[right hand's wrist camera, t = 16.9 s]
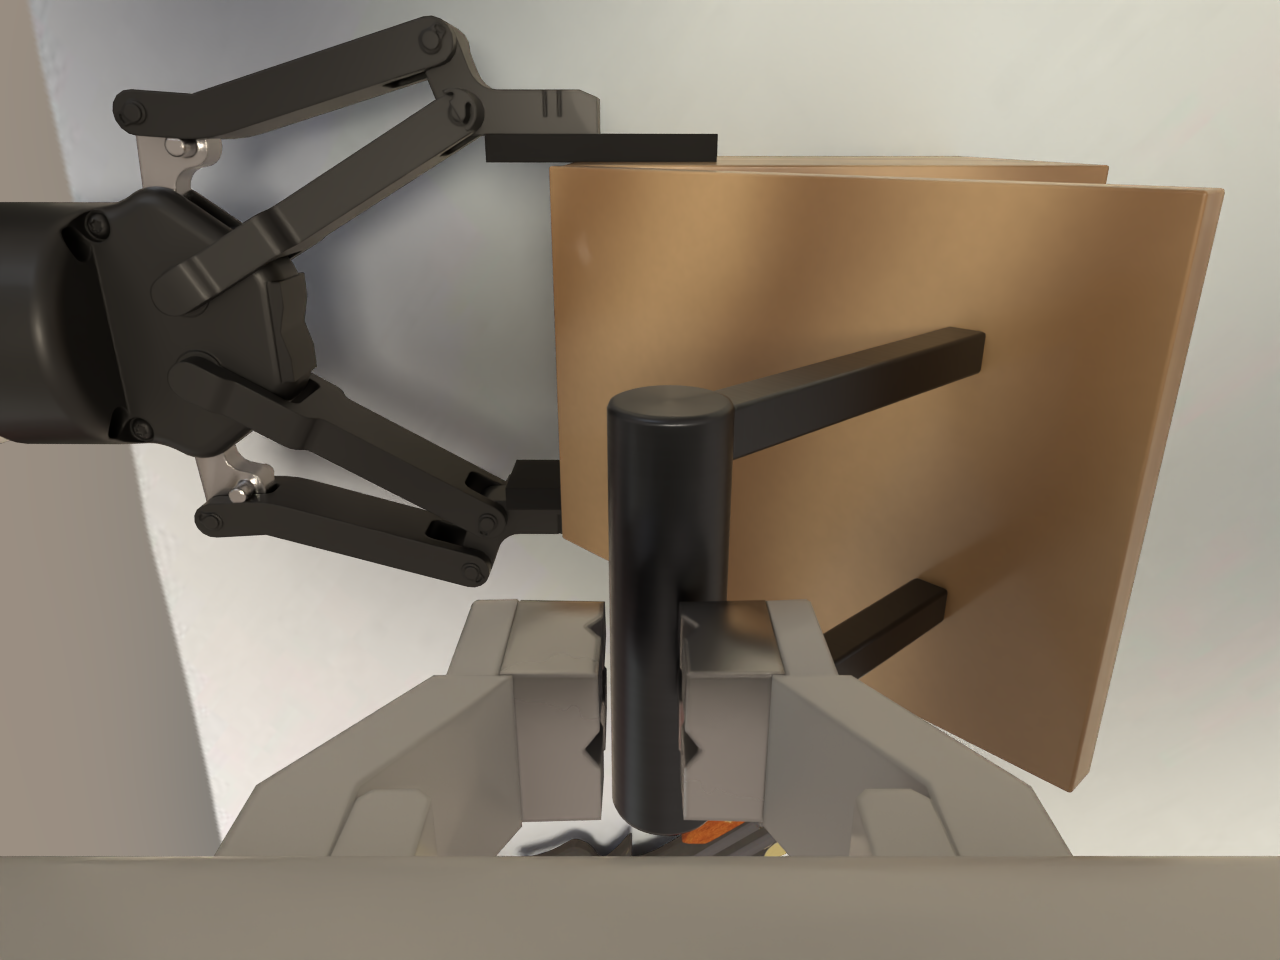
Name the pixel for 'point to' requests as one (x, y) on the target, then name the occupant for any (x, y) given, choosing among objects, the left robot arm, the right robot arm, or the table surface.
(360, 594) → the table surface
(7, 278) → the left robot arm
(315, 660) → the table surface
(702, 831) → the toy gun
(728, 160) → the chest
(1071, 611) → the lid
